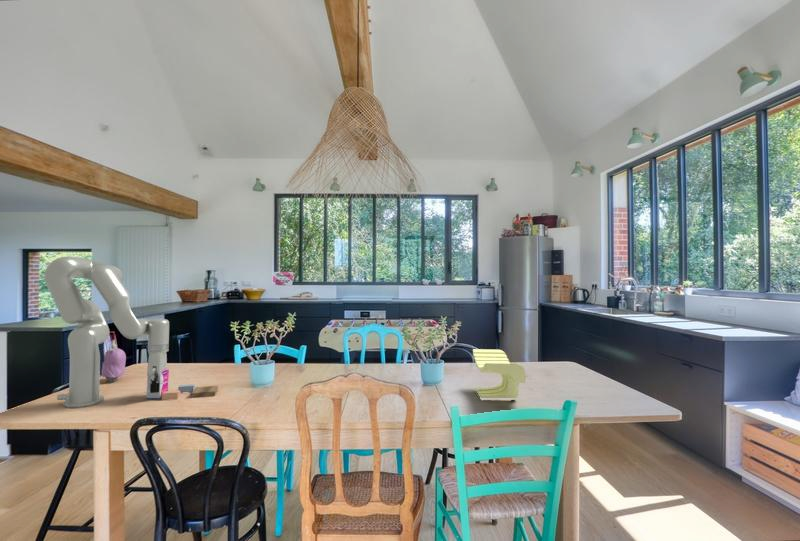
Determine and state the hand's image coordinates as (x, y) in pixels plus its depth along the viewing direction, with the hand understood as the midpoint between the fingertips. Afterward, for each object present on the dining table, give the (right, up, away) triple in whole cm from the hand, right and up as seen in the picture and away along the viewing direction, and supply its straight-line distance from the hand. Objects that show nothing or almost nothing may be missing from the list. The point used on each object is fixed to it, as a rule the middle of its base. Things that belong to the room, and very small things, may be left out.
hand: (157, 389), depth 161 cm
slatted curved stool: (+146, -5, +4) cm, 147 cm away
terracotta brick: (+7, -4, -2) cm, 8 cm away
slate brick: (+8, -4, +8) cm, 12 cm away
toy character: (-38, -4, +25) cm, 46 cm away
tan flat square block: (+18, -4, +5) cm, 19 cm away
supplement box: (0, -3, 0) cm, 3 cm away
